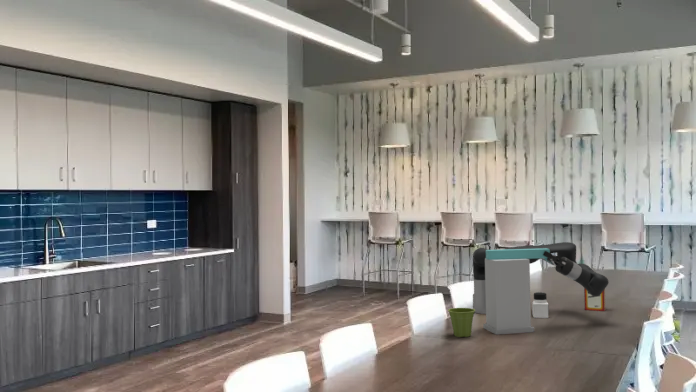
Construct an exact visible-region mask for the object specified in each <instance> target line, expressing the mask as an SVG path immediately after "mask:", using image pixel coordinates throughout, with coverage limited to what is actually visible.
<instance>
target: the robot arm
mask: <svg viewBox="0 0 696 392" xmlns="http://www.w3.org/2000/svg"><path fill="white" fill-rule="evenodd" d="M543 248H547V249H550V253H549V252H547V251H545V252H544V254H543V255H544V256H545V257H547V258H533V259H529V260H530V264H534V263H536V262H538V261H539V260H543V261H545V262H546V263H548V264H550V265H551V266H555V268H554V269H555V271H556V272H557V273H559V274H561V275H562V276H565V277H566V278H568V279H570V280H572V281H574V282H576V283H578V284H579V285H581V286H582V287H583V288H585V289H586V290H587V291H588V292H589V293H590V294H591V295H592V296H599V295H600V294H601V293H602V292H603V290H604V289H605V290H606V289H607V287H608V285H609V284H610V283H609V282H610V281H609V278H607V277H606V276H605V275H603V274H601V273H598V272H595V271H594V270H593V269H592V268H591V267H590V266H589V265H587V264H586V263H578V262H577V245H576V244H575V243H573V242H569V241H568V242H567V241H565V242H556V243H549V244H540V245H538V244H537V245H519V246H512V247H507V248H504V249H501V250H505V249H543ZM486 250H489V249H487V248H485V247H479V248H476V249H475V250H474V252H473V253H472V270H473V272H472V273H473V294H472V309H475V312H474V314H480V315H481V314H482V315H486V289H485V258H486ZM555 254H556V255H555Z"/></svg>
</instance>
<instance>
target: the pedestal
mask: <svg viewBox="0 0 696 392" xmlns="http://www.w3.org/2000/svg"><path fill="white" fill-rule="evenodd" d="M530 266H531V265H530V260H529V259H496V260H488V259H486V258H485V289H486V314H485V320H486V321H485V322H486V323H483V329H484V330H486V331H488V332H490V333H492V334H494V335H508V334H523V333H535V327H534V326H532V318H531V317H532V315H531V314H532V313H531V310H532V306H531V305H532V303H531V271H530V270H531V267H530Z"/></svg>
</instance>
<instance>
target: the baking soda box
mask: <svg viewBox="0 0 696 392" xmlns="http://www.w3.org/2000/svg"><path fill="white" fill-rule="evenodd" d="M583 288H584V287H583ZM583 291H584V292H583V293H584V296H583V297H584V311H594V312H595V311H597V312H605V311H606V288H605V289H604V290H603V292H602V293H601V294H600V295H599V296H592V295H591V294H590V293H589V292H588V291H587V290H586V289H585V288H584V290H583Z"/></svg>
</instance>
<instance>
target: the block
mask: <svg viewBox="0 0 696 392" xmlns="http://www.w3.org/2000/svg"><path fill="white" fill-rule="evenodd" d="M504 249H505V250H502V249H488V250H486V259H488V260H496V259H533V258H547V257H545V256H544V255H543V254H544V252H545V251H547V252H549V253H550V249H547V248H543V249H507V248H504Z"/></svg>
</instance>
